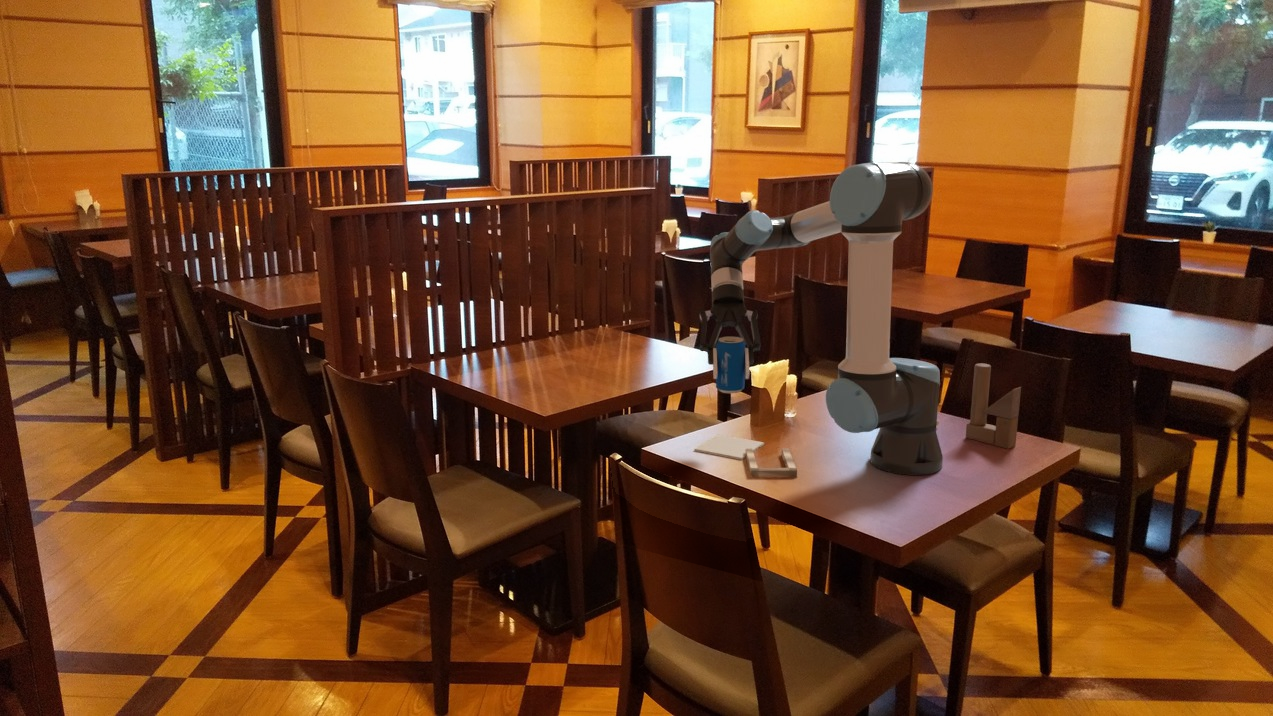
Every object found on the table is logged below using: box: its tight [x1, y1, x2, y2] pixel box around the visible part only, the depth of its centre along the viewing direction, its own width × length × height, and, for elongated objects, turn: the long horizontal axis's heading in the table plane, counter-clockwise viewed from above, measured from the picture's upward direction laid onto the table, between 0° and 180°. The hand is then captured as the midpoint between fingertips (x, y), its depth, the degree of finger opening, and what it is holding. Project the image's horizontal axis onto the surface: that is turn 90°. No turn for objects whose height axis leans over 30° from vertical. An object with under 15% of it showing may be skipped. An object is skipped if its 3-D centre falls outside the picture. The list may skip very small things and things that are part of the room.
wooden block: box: [965, 362, 1022, 450], centre depth 207 cm, size 4×11×18 cm, turn 40°
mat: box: [693, 433, 765, 461], centre depth 208 cm, size 12×12×1 cm
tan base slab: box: [745, 448, 798, 478], centre depth 196 cm, size 14×10×2 cm
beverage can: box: [715, 336, 746, 394], centre depth 203 cm, size 6×6×12 cm
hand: (731, 375), depth 200 cm, fingers closed on beverage can, 6 cm apart
